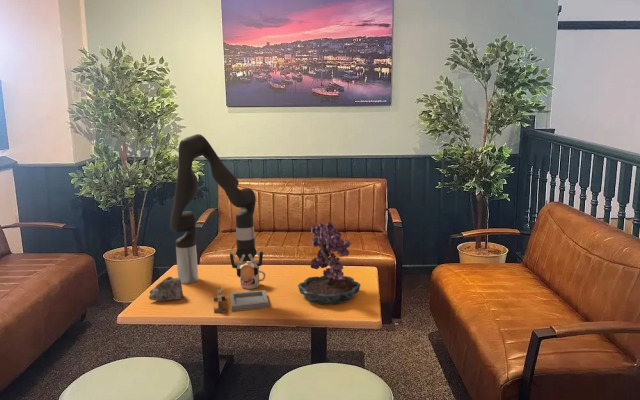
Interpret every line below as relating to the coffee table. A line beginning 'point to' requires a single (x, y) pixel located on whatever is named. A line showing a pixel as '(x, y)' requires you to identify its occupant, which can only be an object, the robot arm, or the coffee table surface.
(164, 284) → the mineral rock
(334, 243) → the bonsai tree
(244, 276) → the ball
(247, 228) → the robot arm
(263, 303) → the tray
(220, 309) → the fence
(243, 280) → the teacup with lid
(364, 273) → the coffee table surface
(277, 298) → the coffee table surface
